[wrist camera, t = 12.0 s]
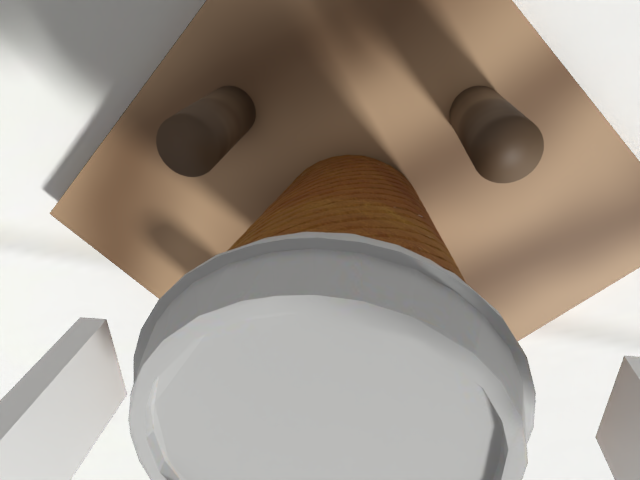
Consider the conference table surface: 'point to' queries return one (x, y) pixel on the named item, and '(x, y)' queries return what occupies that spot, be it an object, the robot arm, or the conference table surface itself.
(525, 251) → the holder
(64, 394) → the robot arm
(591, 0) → the conference table surface
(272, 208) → the disposable coffee cup
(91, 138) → the conference table surface
